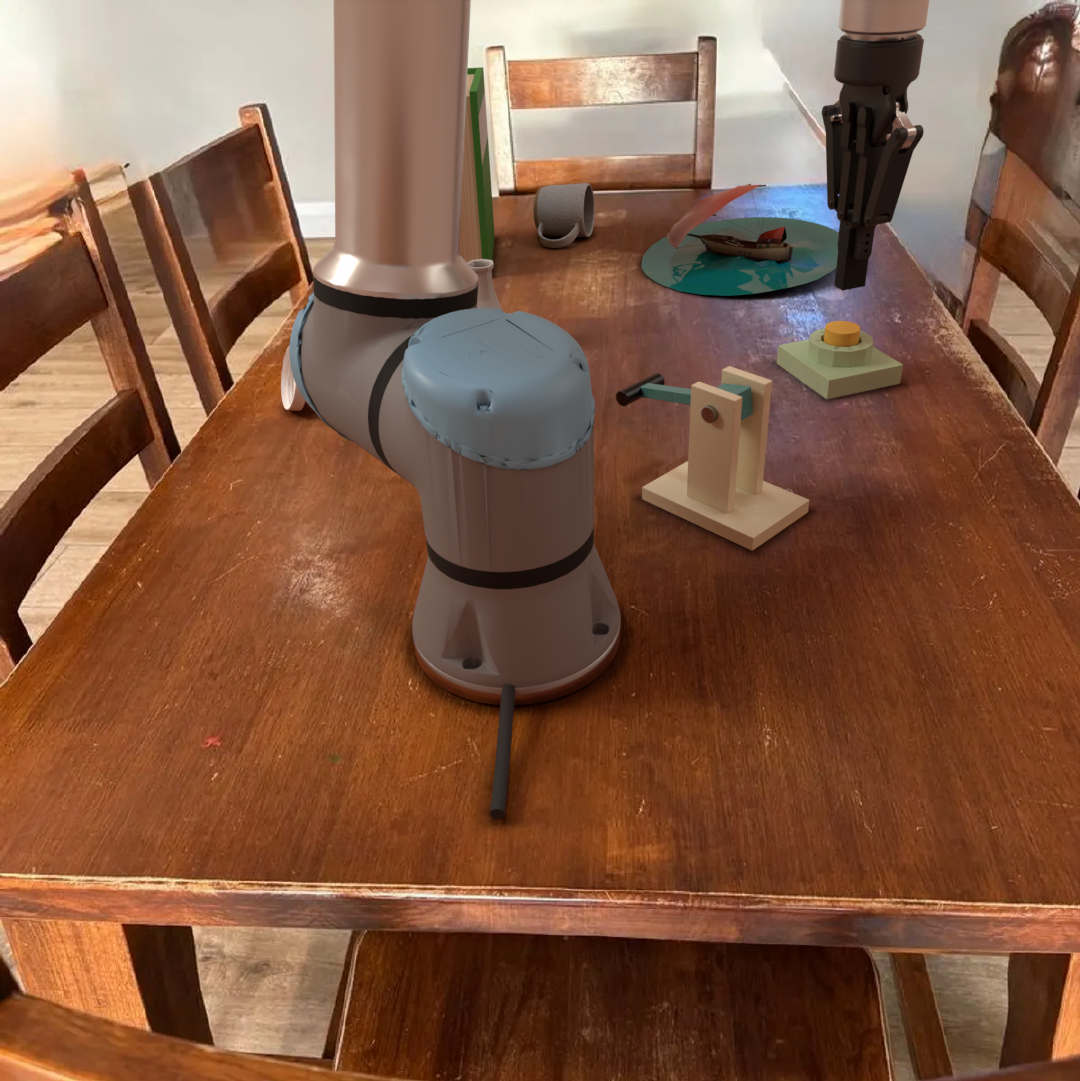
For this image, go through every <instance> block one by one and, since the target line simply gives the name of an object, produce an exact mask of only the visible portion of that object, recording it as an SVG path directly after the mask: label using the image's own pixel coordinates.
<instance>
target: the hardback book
mask: <svg viewBox="0 0 1080 1081" xmlns="http://www.w3.org/2000/svg"><path fill="white" fill-rule="evenodd" d="M484 72H485V71H484V67H482V66H480V67H468V69H467V90H466V111H465V131H464V152H463V172H462V193H461V214H460V234H459V253H460V255H461V256H462V257H463V259H464V260H465V261H466V262H467V263H468V262H469V261H471V260H477V259H487V260H493V257H494V249H495V241H496V239H495V238H496V235H495V220H494V205H493V191H492V190H493V189H492V177H491V162H490V159H491V158H490V147H489V146H490V145H489V131H488V130H489V129H488V116H487V103H486V88H485V87H486V86H485V73H484Z"/></svg>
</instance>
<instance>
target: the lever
mask: <svg viewBox="0 0 1080 1081" xmlns="http://www.w3.org/2000/svg"><path fill="white" fill-rule="evenodd" d="M665 384H666V382H665V377H664V376H663V375H662V374H661V373H659V372H655V373H653V374H651V375H649V376H647V377H645V378H643V379H641V380H639V381H637V382H634V383H633V384H630V385H629V386H626V387H624V388H622V389H620V390H618V391H617V392H616V393H615V399H616V402H617V404H618V405H619V406H621V407H627V406H629V405H631V404H633V403H635V402H636V401H638V400H641V399H642V398H644V399H650V400H656V401H663V402H670V403H677V404H682V405H689V406H691V388H686V387H681V386H672V385H665ZM715 387H716V388H719V389H722V390H724V391H727V392H730V393H733V394H736V395H738V396H741V397H742V410H741V421H742V420H743V419H745V418H747V417H749V416H750V415H752V414H753V404H752V392H751V387H750V386H742V385H734V384H727V383H723V384H721V383H720V385H717V386H715Z"/></svg>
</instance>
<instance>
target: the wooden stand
mask: <svg viewBox="0 0 1080 1081" xmlns="http://www.w3.org/2000/svg"><path fill="white" fill-rule="evenodd" d="M720 382H721V383H720V385H721V384H723V383H727V384H734V385H742V386H750V387H751V392H752V404H753V414H752V415H750V416H749V417H747V418H745V419H743V420H742V421H741V410H742V397H741V396H738V395H736V394H733V393H730V392H727V391H724V390H722V389H719V388H716V387H717V386H713V385H710V384H707V383H705V382H701V381H697V382H695V383H693V384H691V386H690V389H691V405H689V407H690V409H689V430H688V431H689V433H688V451H687V452H688V453H687V456H688V457H687V461H685V462H684V463H682V464H680V465H678V466H676V467H675V468H673V469H671V470H669V471H668V472H666V473H664V474H662V475H661V476H659V477H657V478H656V479H654V480H652V481H650V482H649V483H647V484H645V485H643V486H642V487H641V500H643V501H645V502H647V503H649V504H651V505H653V506H656V507H657V508H660V509H663V510H664V511H665V512H668V513H670V514H673V515H675V516H677V517H679V518H681V519H683V520H685V521H687V522H690V523H692V524H694V525H696V526H698V527H700V528H702V529H704V530H707V531H709V532H711V533H712V534H715V535H718V536H720V537H722V538H723V539H726V540H728V541H730V542H732V543H734V544H737V545H738V546H741V547H743V548H745V549H747V550H749V551H751V552H753V551H755V550H756V549H758V548H759V547H760V546H761V545H763V544H765V543H766V542H767V541H769V540H770V539H772V538H773V537H775V536H776V535H778V534H779V533H780V532H781V531H783V530H785V529H786V528H787V527H788V526H790V525H792V524H793V523H795V522H796V521H798V520H799V519H800V518H802V517H804V516H805V515H806V514H807V513H809V506H810V499H809V498H806V497H804V496H801V495H800V494H796V493H794V492H792V491H789V490H787V489H785V488H783V487H781V486H777V485H775V484H772V483H770V482H767V481H765V480H764V478H765V476H764V475H765V466H766V456H767V455H766V454H767V444H768V434H769V432H768V431H769V423H770V422H769V421H770V411H771V400H772V390H773V380H772V379H769V378H766V377H763V376H760V375H758V374H754V373H751V372H749V371H745V370H743V369H739V368H736V367H733V366H730V365H728V366H726V367H724V368H722V369H721V380H720Z"/></svg>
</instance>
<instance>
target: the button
mask: <svg viewBox="0 0 1080 1081" xmlns="http://www.w3.org/2000/svg"><path fill="white" fill-rule="evenodd" d="M824 328H825V333H824V341H823V342H825V343H826V344H828V345H832V346H836V347H850V346H855V345H858V343H859V336H860V331H861V326H860V325H859V324H857V323H855V322H852V321H849V320H834V321H830V322H828V323H826V324H825V326H824Z"/></svg>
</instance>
